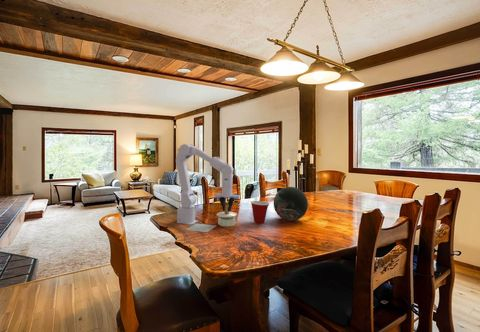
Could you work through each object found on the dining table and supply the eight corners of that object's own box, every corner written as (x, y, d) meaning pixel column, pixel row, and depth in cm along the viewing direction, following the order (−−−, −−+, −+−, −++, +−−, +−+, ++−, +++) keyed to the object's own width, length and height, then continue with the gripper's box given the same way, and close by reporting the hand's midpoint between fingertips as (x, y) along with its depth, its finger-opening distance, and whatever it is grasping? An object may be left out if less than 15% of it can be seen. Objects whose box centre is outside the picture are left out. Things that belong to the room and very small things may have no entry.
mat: (185, 230, 135) (185, 229, 135) (196, 224, 146) (196, 223, 146) (207, 233, 131) (207, 232, 131) (216, 226, 143) (216, 225, 143)
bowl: (216, 226, 143) (216, 218, 143) (222, 222, 152) (222, 215, 152) (231, 227, 140) (231, 220, 140) (237, 223, 149) (237, 216, 149)
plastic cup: (271, 224, 148) (272, 203, 147) (253, 225, 145) (253, 204, 145) (265, 219, 158) (265, 199, 158) (248, 220, 156) (248, 200, 155)
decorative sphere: (297, 215, 170) (298, 184, 169) (314, 223, 151) (315, 188, 149) (268, 217, 164) (268, 185, 163) (281, 226, 145) (282, 189, 144)
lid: (213, 216, 142) (213, 207, 142) (221, 212, 153) (221, 204, 152) (232, 218, 138) (232, 209, 138) (239, 214, 149) (239, 205, 149)
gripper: (212, 186, 143) (211, 211, 144) (237, 188, 139) (237, 213, 140) (217, 185, 150) (216, 208, 151) (241, 186, 146) (241, 210, 146)
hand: (226, 211), depth 146 cm, fingers closed on lid, 3 cm apart
